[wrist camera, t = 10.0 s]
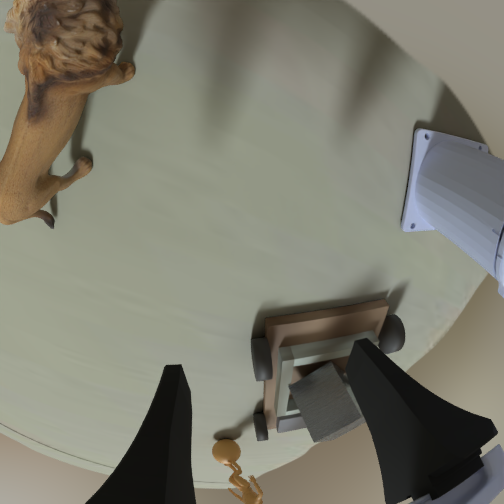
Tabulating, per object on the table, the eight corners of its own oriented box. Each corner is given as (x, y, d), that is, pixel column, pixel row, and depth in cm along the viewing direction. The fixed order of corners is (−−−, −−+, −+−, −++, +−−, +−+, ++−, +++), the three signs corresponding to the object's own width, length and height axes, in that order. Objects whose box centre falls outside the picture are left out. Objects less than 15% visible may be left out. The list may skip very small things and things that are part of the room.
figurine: (221, 428, 32) (231, 509, 21) (262, 430, 33) (278, 506, 23) (203, 447, 35) (210, 516, 25) (240, 449, 37) (251, 514, 27)
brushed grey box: (330, 361, 23) (361, 417, 18) (346, 372, 27) (371, 418, 22) (288, 386, 23) (314, 442, 19) (310, 394, 27) (333, 439, 23)
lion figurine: (91, 2, 9) (13, -49, 1) (168, 15, 11) (131, -60, 3) (28, 214, 15) (-47, 290, 7) (90, 236, 17) (31, 331, 9)
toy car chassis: (394, 296, 24) (414, 322, 20) (348, 405, 34) (357, 425, 30) (250, 319, 22) (257, 354, 19) (253, 425, 32) (258, 448, 29)
